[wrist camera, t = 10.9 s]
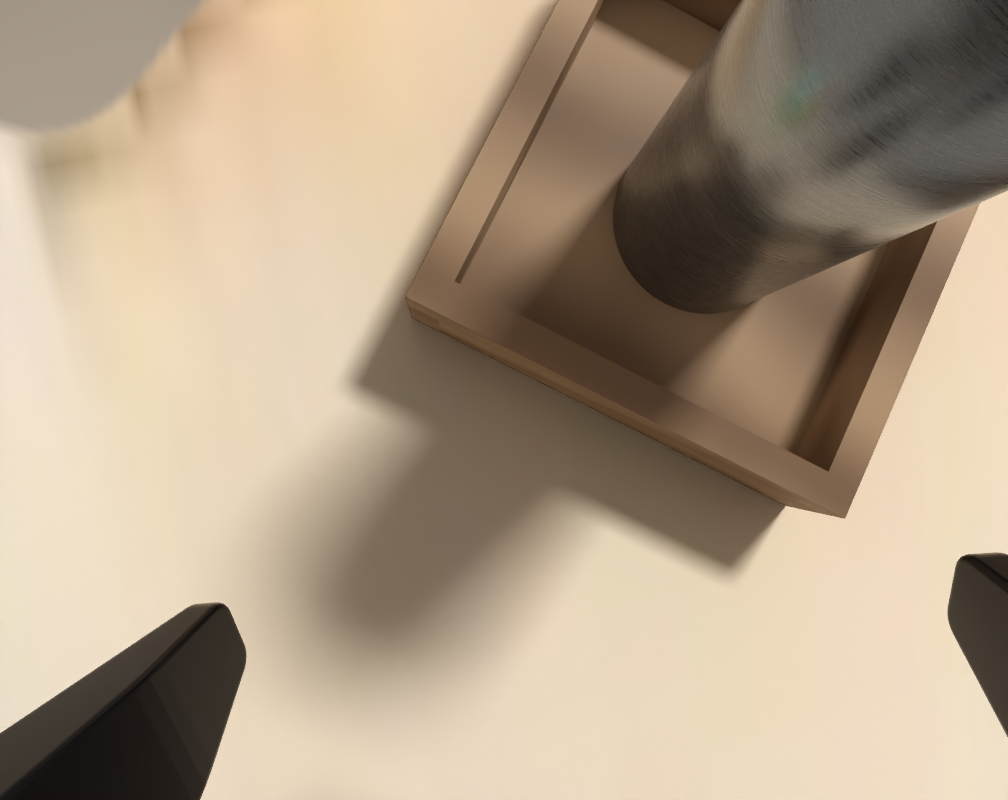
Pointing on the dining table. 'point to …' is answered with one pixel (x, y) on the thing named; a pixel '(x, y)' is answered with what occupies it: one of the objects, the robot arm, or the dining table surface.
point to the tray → (640, 316)
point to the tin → (815, 144)
